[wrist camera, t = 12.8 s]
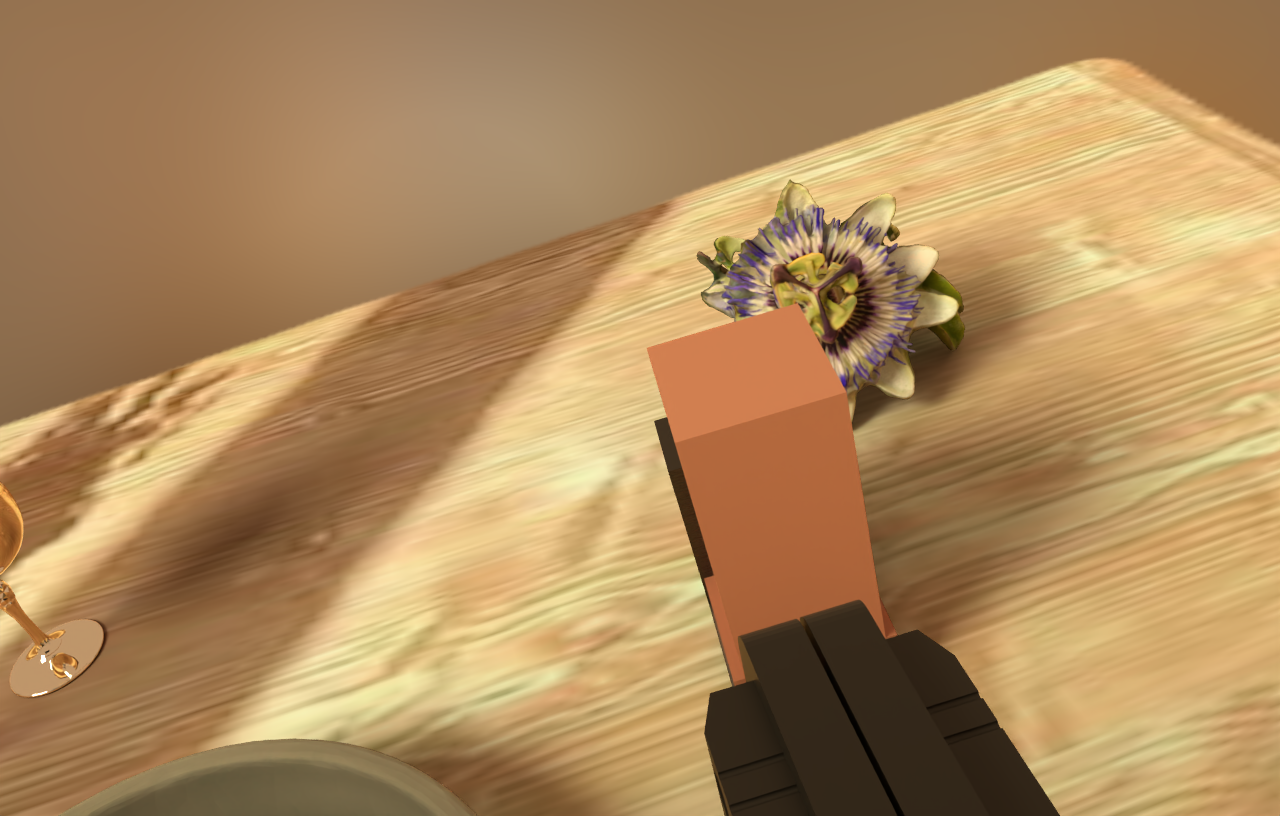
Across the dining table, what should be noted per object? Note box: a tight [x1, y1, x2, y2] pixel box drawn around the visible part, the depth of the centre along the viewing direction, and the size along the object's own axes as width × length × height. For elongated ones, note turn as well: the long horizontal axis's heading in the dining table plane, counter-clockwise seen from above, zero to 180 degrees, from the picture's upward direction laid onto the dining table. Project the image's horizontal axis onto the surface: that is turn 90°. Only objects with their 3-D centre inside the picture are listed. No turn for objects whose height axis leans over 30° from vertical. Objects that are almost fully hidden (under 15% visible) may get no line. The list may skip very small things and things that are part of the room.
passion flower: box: [697, 180, 965, 423], centre depth 50 cm, size 11×11×12 cm
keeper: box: [647, 303, 897, 686], centre depth 35 cm, size 6×5×12 cm
